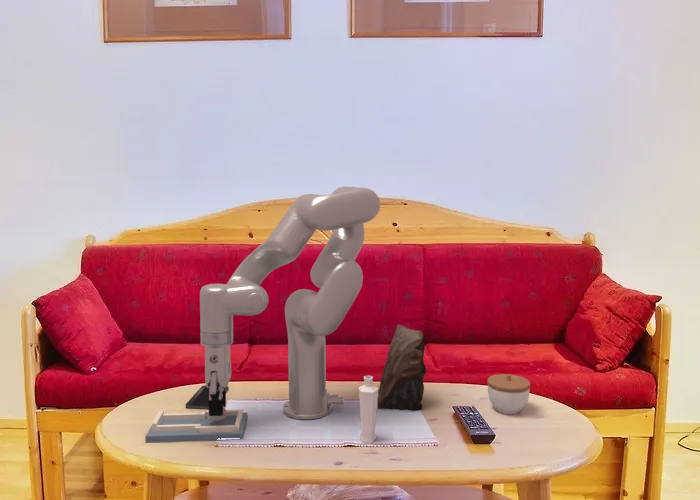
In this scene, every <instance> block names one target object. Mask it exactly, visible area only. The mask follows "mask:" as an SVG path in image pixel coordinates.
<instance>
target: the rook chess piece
mask: <svg viewBox="0 0 700 500" xmlns="http://www.w3.org/2000/svg"><path fill="white" fill-rule="evenodd" d="M217 386H218V384H217ZM219 386H220V384H219ZM223 390H224V388H223V387H222V392H223ZM217 391H218V393H219V389H217ZM222 396H223V394H222ZM226 410H227V409H226V407H224V406H223V415H222V416H209V415H208V418H209V419H210V420H212V421H220V420H223V419H225V418H226V416H227V414H225V413H226ZM207 411H208V414H209V410H207Z"/></svg>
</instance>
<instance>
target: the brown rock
mask: <svg viewBox="0 0 700 500" xmlns="http://www.w3.org/2000/svg"><path fill="white" fill-rule="evenodd" d="M391 339H392V340H391V342H390V345H389V348H388V352H387V356H386V360H385V364H384V368H383V369H382V373H381V377H380V378H381V379H380V383H379V388H378V400H377V410H389V411H390V410H391V411H393V410H394V411H395V410H396V411H410V412H418V411H422V410H423V403H422V401H423V399H424V393H425V386H424V385H425V384H424V378H425V375H426V373H427V368H426V365H425V363H424V362H425V361H424V356H425V340H426V339H425V337H424V333H423V331H422V330H415V329H412V328H411V329H410V328H407V327H406V326H405V325H402V324H397V326H396V329H395V332H394V334H393V336H392V338H391Z"/></svg>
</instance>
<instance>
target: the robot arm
mask: <svg viewBox="0 0 700 500" xmlns="http://www.w3.org/2000/svg"><path fill="white" fill-rule="evenodd" d="M380 210H381V200H380V198H379V196H378V194H377V193H376V192H375V191H374V190H372V189H370V188H367V187H358V186H357V187H356V186H339V187H337V188H336V189H335V190H333V192H332V193H330V194H314V193H304V194H302V195H299V196H298V197H297V198H296V199H295V200H294V201H293V203H292V205H291V206H290V207H289V209H288V210H287V211H286V212H285V214H284V215H283V217H282V218H281V219H280V221H279V222H278V223H277V225H276V227H275V228H274V230H273V231H272V232H271V233H270V235H269V236H268V237H267V239H266V240H265V241H263V242H262V243H260V245H259V246H257V247H256V248H255V249H254V250H253V251H252V252H251V253H250V254H248V255H247V256H246V257H245V258H244V259H243V261H242V262H241V263H240V264H239V265H238V267H237V268H236V269H235V271H234V272H233V274H232V275H231V276H230V277H229V279H228V281H227V283H225V284H224V283H209V284H206V285H203V286H202V287H201V289H200V291H199V312H200V313H199V314H200V315H199V316H200V317H199V318H200V320H199V322H200V325H199V327H200V334H199V335H200V345H201V346H203V347H205V348H204V349H205V351H204V377H205V378H204V380H205V383H204V384H205V385H206V387H207V388H209V410H208V411H209V416H222V415H223V406H224V408H226V406H227V396H226V395H227V393H226V391H223V392H222V387H223V388H224V390H225V388H226V387H227V386H228V387H229V383H230V381H231V377H232V362H231V361H232V360H231V345H232V344H233V343H234V316H235V315H236V316H255V315H259V314H261V313H262V312H264V311H265V310H266V308H267V307H268V304H269V299H270V298H269V294H268V293H267V291H266V289H264V288H263V287H262V286H260V285H261V283H262V282H263V281H264V280H265V279H266V278H267V276H268V275H269V274H271V272H273V271H274V270H276V269H278V268H280V267H283V266H285V265H288V264H290V263H292V262H293V261H295V260H296V259H297V258H298V257H299V255H300V254H301V253H302V251H303V249H304V248H305V246H306V245H307V244H308V242H310V240H311V238H312V237H313V236H314V234H315V233H316V231H319V232H320V231H321V232H323V231H324V232H325V231H326V232H327V231H332V232H331V234H330V237H329V238H328V240H327V242H326V244H325V246H324V247H323V249H322V250H321V251H320V253H319V255H318V256H317V258H316V260H315V262H314V263H313V265H312V267H311V269H310V275H309V276H310V280H311V282H312V283H313V284H314V286H316V288H319V290H318V292H317V291H314V290H311V289H308V288H307V289H306V288H303V289H297V290H295V291H294V292H292V293H291V294H290V295H289V296H288V298H287V299H286V302H285V305H284V318H285V323H286V330H287V340H288V342H287V345H288V346H287V347H288V348H287V349H288V352H287V353H288V354H287V355H288V360H287V362H288V401H286V402H285V403H283V405H282V411H283V413H284V414H285V415H286V416H288V417H289V418H292V419H297V420H314V419H320V418H323V417H326V416H328V415H329V414H331V412H332V410H333V405H344V401H345V399H344V396H339V394H338V393H335V394H330V393H328V388H327V385H326V383H327V382H326V381H327V376H326V375H327V373H326V372H327V371H326V370H327V368H326V367H327V366H326V365H327V364H326V360H327V358H326V355H327V354H326V352H327V350H326V349H327V348H326V347H327V346H326V345H327V344H326V336H328V335H330V334H332V333H334V332H335V331H336V330H337V329H338V327H339V326H340V324H341V323H342V322H343V320H344V319H345V317H346V315H347V314H348V312H349V310H350V308H351V307H352V305H353V304H354V302H355V300H356V298H357V297H358V295H359V293H360V291H361V289H362V286H363V279H364V275H363V270H362V267H361V266H360V264H358V262H356V259H357V257H358V255H359V253H360V251H361V249H362V247H363V244H364V242H365V227H364V224H366V223H369V222H371V221H373V219H375V218H376V217H377V215H379V212H380ZM217 384H218V386H217ZM219 384H220V386H219ZM217 389H219V393H218V391H217ZM222 394H223V396H222Z"/></svg>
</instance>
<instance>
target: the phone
mask: <svg viewBox="0 0 700 500" xmlns="http://www.w3.org/2000/svg"><path fill="white" fill-rule="evenodd" d="M223 391H226V394H227V393H228V392H229V385H228V386H227V387H226V388H225V390H223ZM185 409H186V410H205V411H209V388H207V387H206V384H204V385H202V386H201V387H199V389H198V390H196V392H195V393H194V394H193V396H192V397H191V398H190V399H189V400H188V401H187V402H186V403H185Z"/></svg>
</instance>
